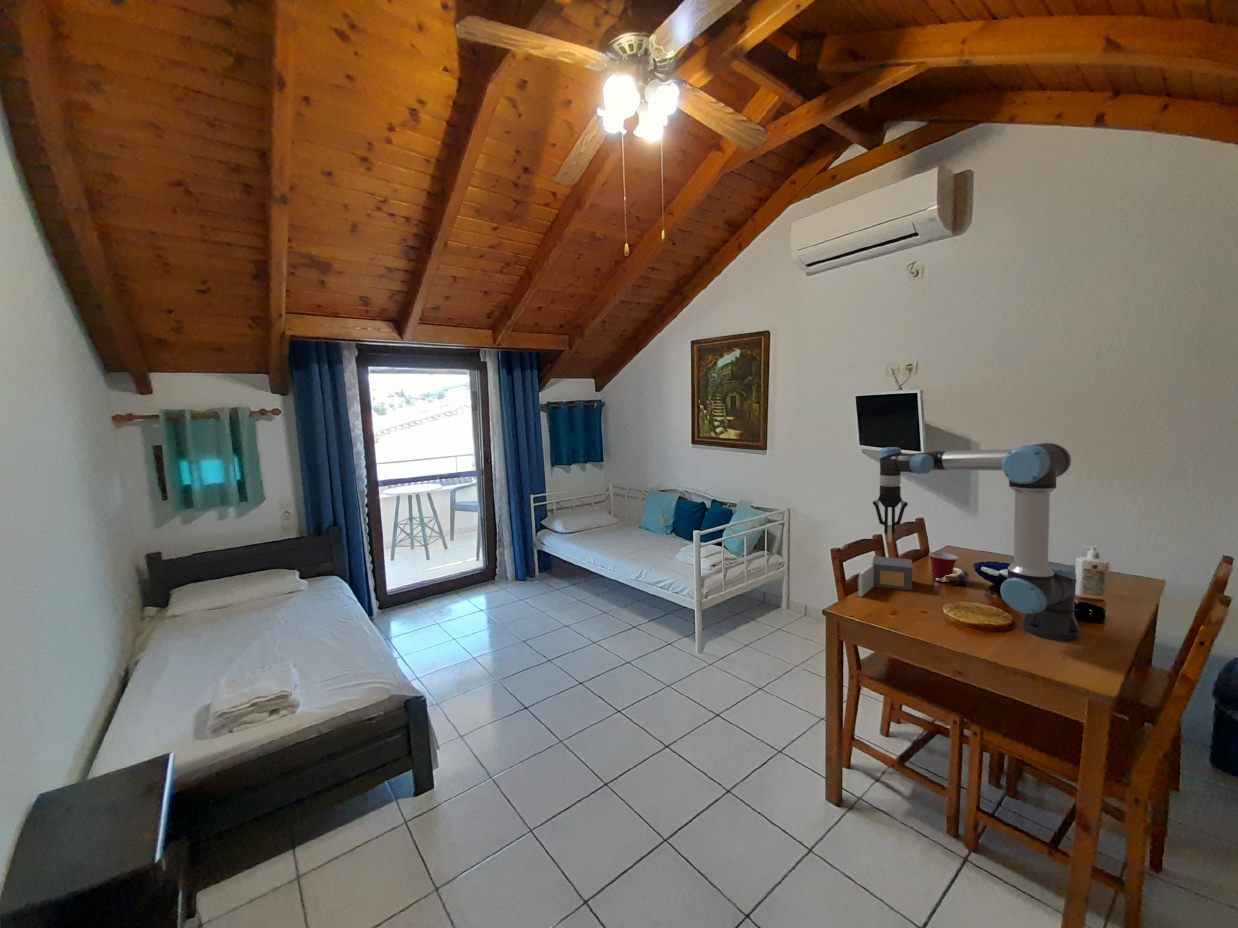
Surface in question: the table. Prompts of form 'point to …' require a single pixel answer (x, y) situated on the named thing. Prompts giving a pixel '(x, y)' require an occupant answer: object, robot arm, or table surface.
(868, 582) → the side door
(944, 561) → the plastic cup
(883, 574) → the grey box with door
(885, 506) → the robot arm
